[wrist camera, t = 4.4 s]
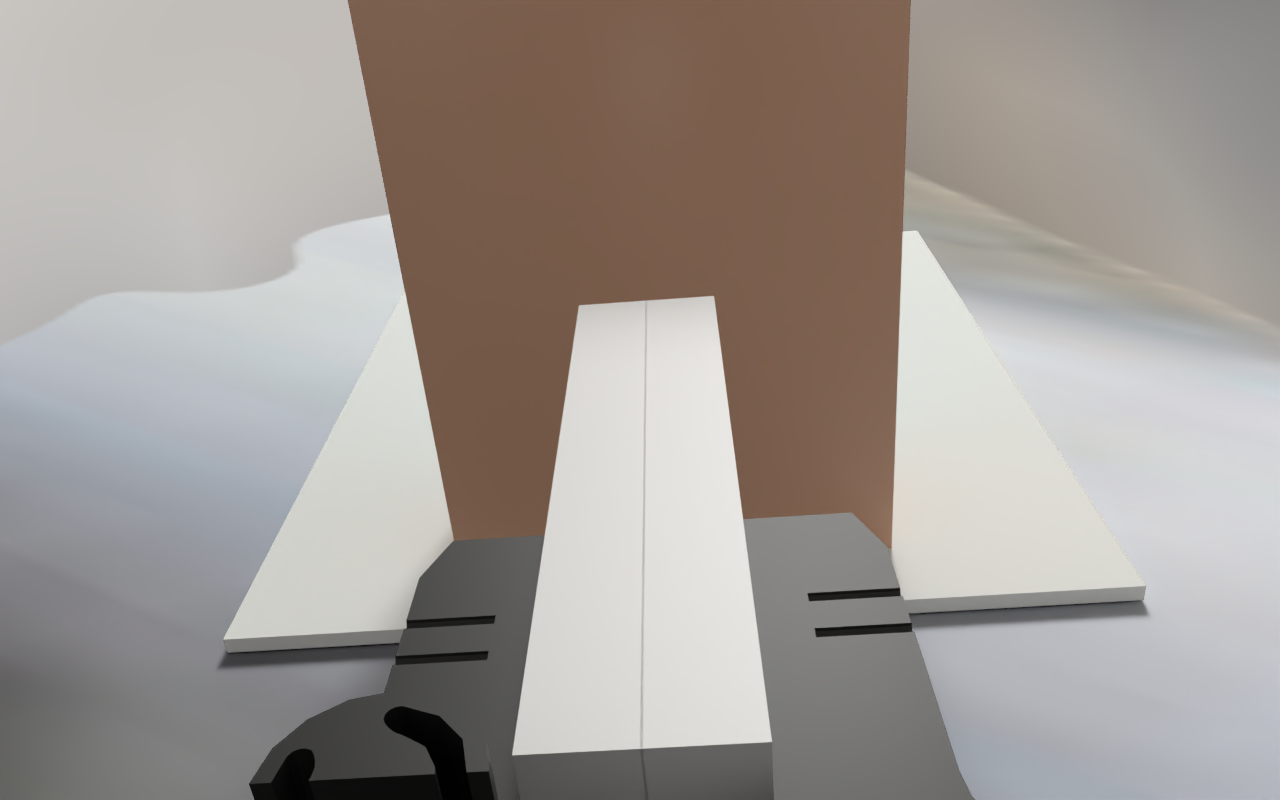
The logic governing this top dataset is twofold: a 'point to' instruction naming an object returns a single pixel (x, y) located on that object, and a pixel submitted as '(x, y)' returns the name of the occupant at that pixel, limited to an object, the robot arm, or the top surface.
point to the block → (648, 224)
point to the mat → (922, 500)
